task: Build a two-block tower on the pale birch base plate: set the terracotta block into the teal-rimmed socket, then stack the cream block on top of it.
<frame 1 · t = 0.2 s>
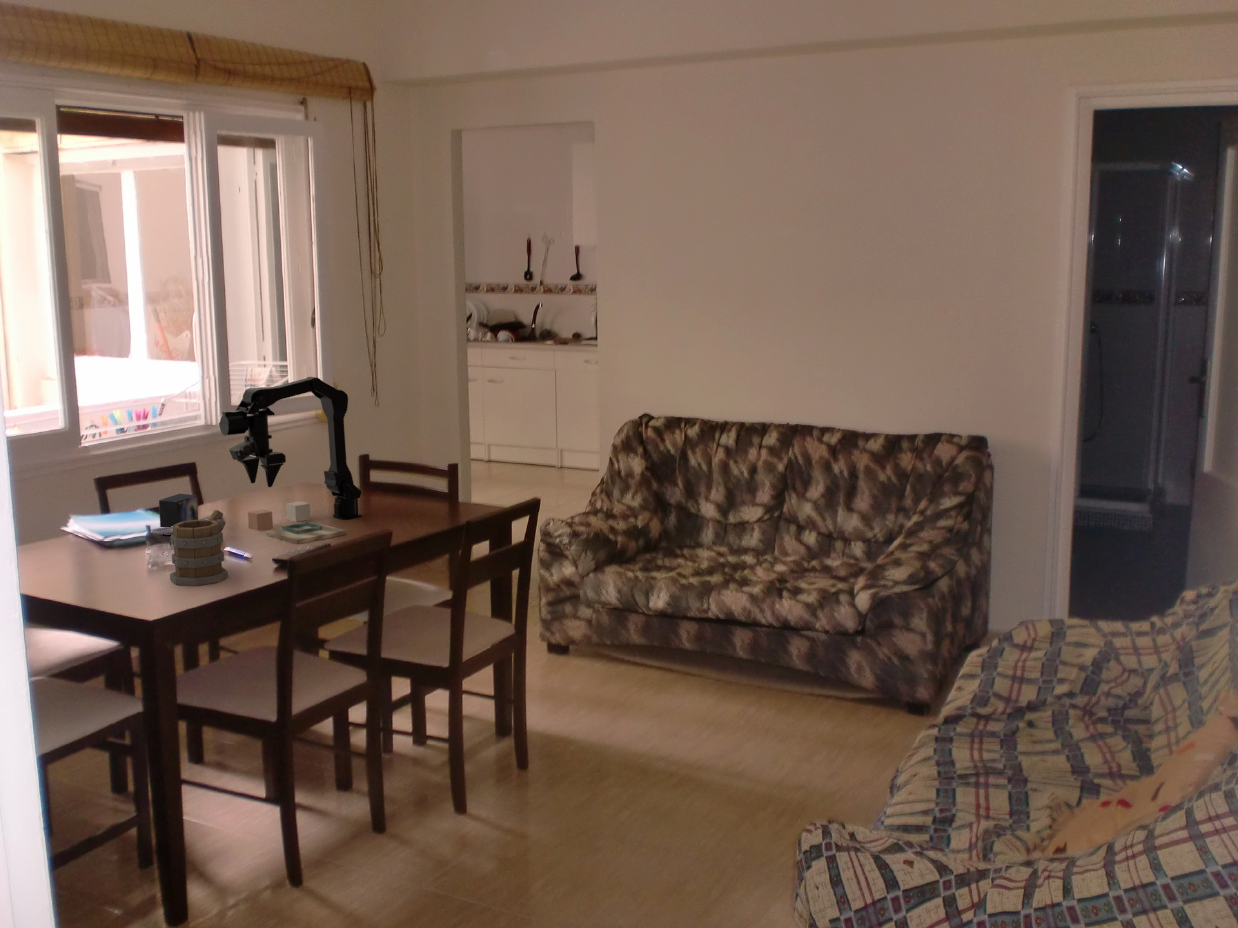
hand: (261, 484, 335), 14 cm above the table, tool pointing down, fingers open, 9 cm apart
cream block: (298, 519, 353), on the table
tankard: (207, 575, 289), on the table
base plate: (306, 534, 332), on the table
terracotta block: (260, 528, 342), on the table
small box: (180, 533, 336), on the table
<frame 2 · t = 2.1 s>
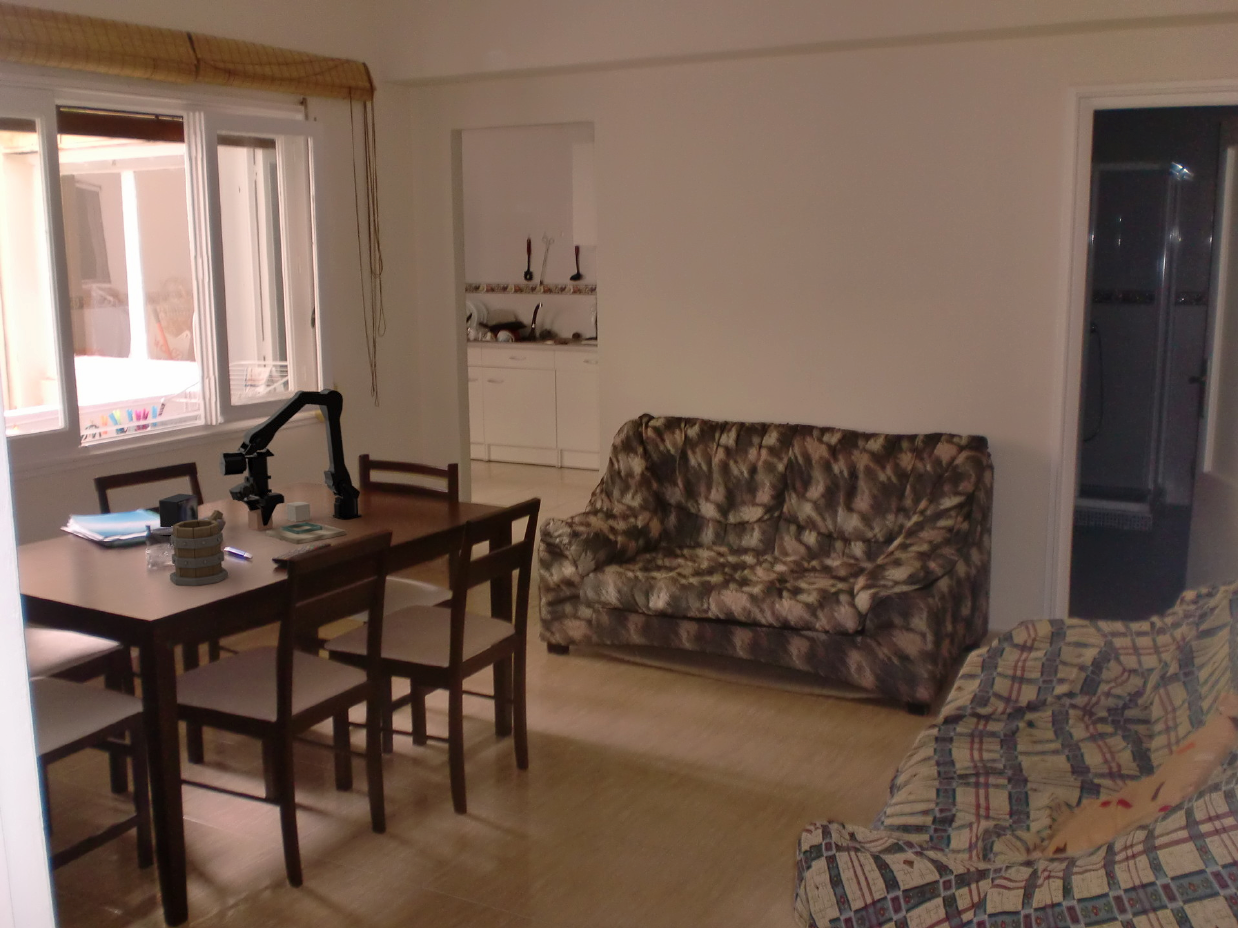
hand: (260, 524, 341), 1 cm above the table, tool pointing down, fingers closed on terracotta block, 5 cm apart
terracotta block: (260, 527, 341), on the table, touching gripper
everything else where it was.
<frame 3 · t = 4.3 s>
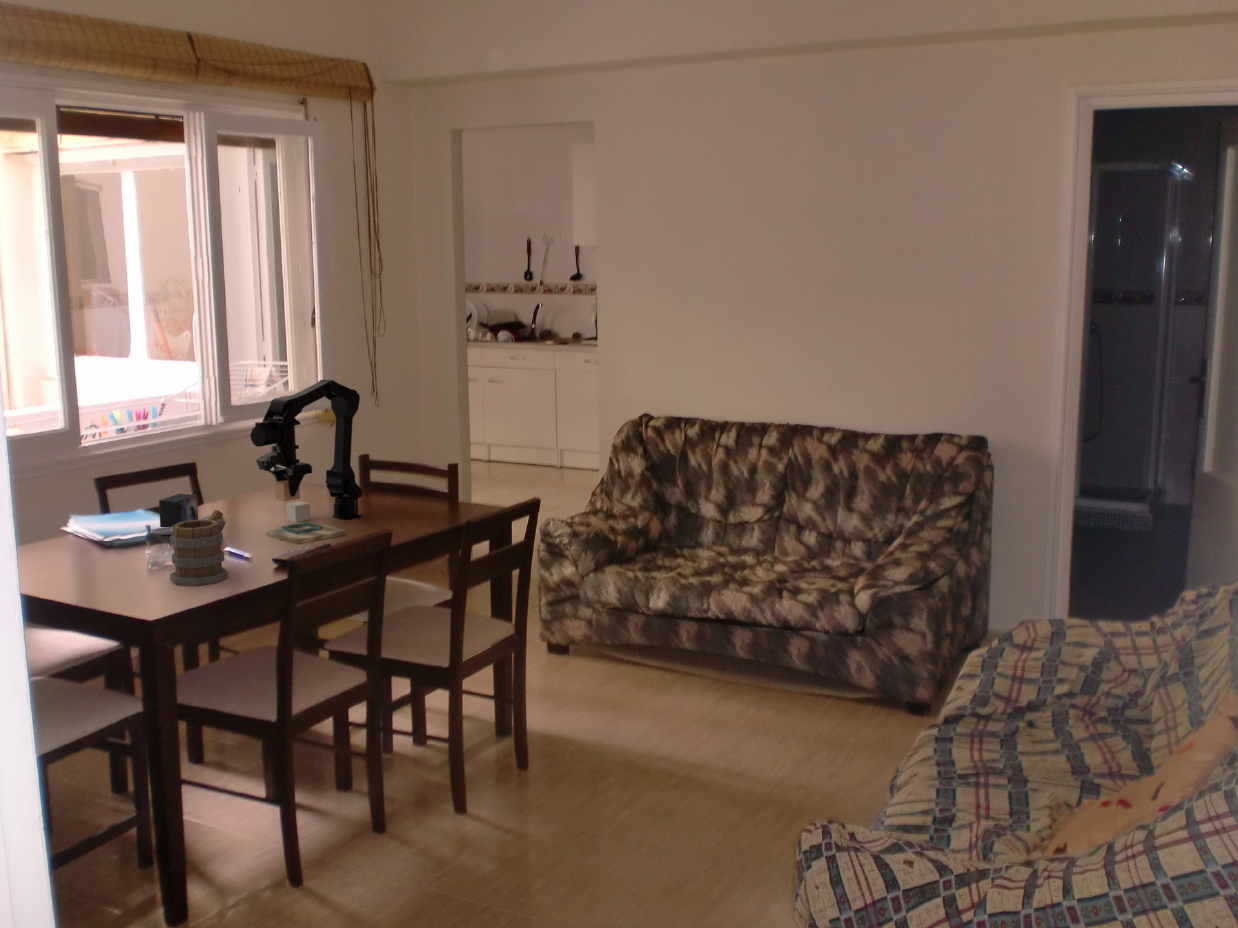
hand: (288, 495, 334), 11 cm above the table, tool pointing down, fingers closed on terracotta block, 5 cm apart
terracotta block: (287, 498, 334), point 10 cm above the table, touching gripper
everything else where it was.
when the fingers open (3 cm above the table, at t = 6.5 s): terracotta block stays where it is, resting on base plate.
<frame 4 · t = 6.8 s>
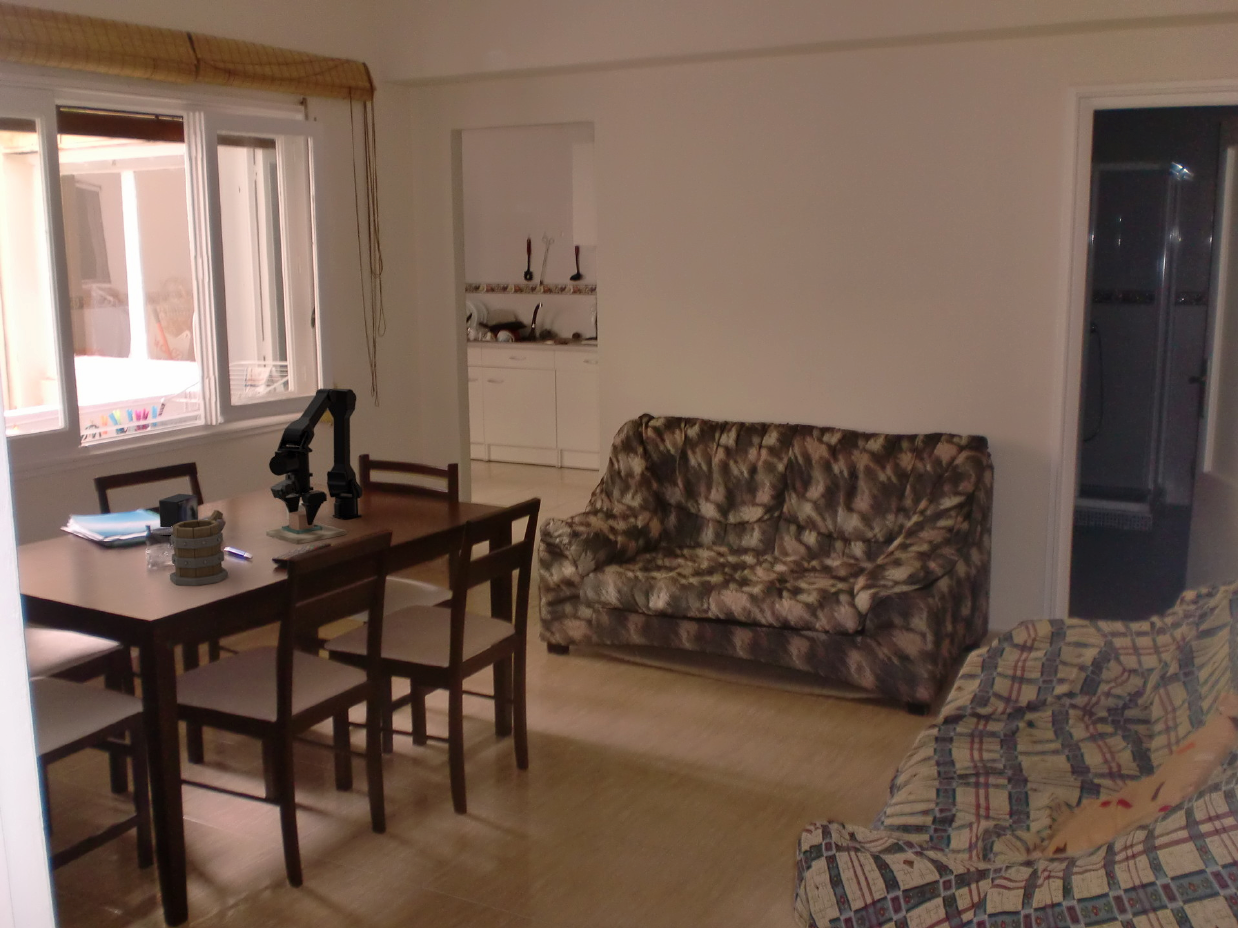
hand: (301, 522, 333), 3 cm above the table, tool pointing down, fingers open, 8 cm apart
terracotta block: (301, 529, 333), point 1 cm above the table, touching base plate
everything else where it was.
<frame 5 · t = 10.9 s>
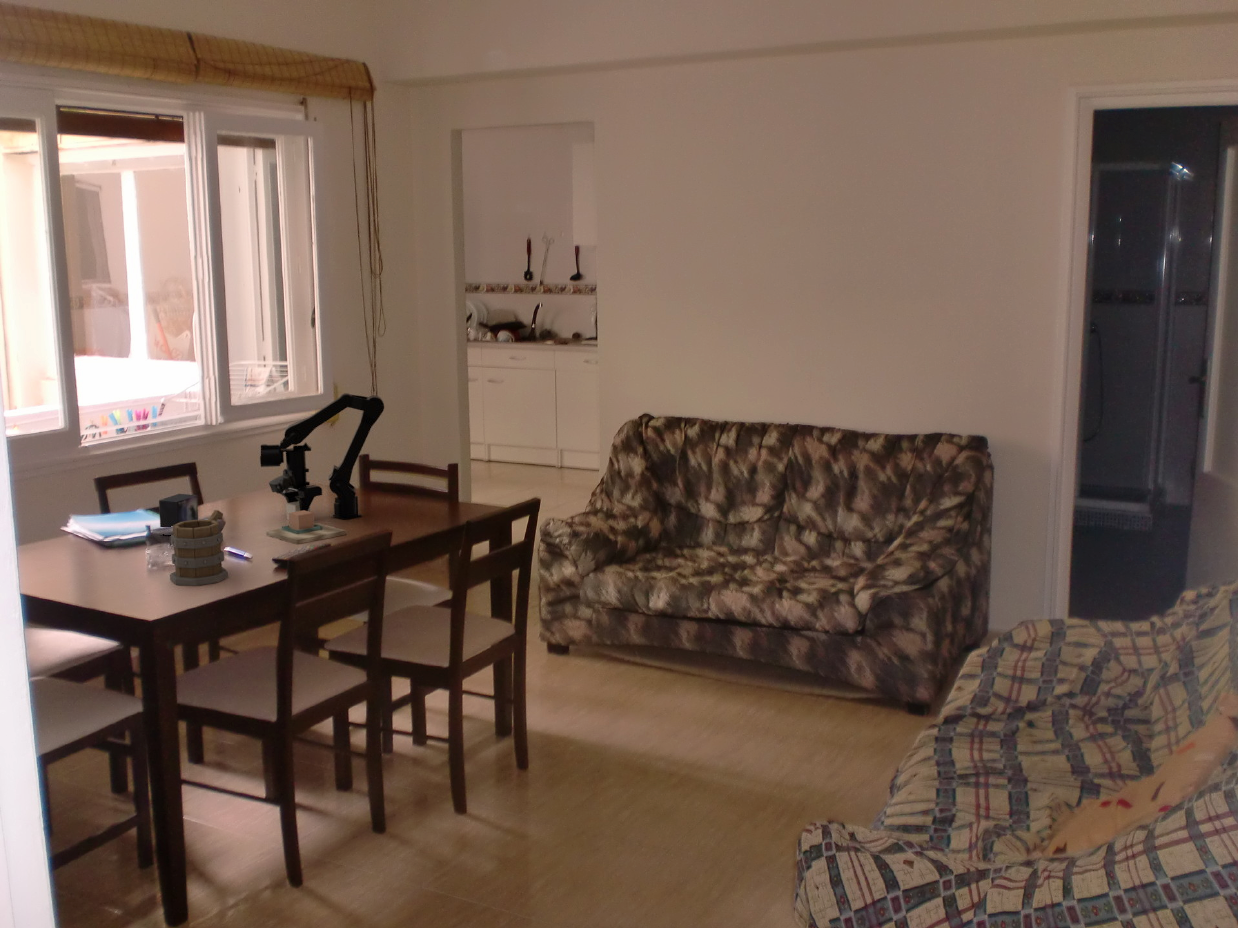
hand: (298, 515, 353), 1 cm above the table, tool pointing down, fingers closed on cream block, 5 cm apart
cream block: (298, 519, 353), on the table, touching gripper
everything else where it was.
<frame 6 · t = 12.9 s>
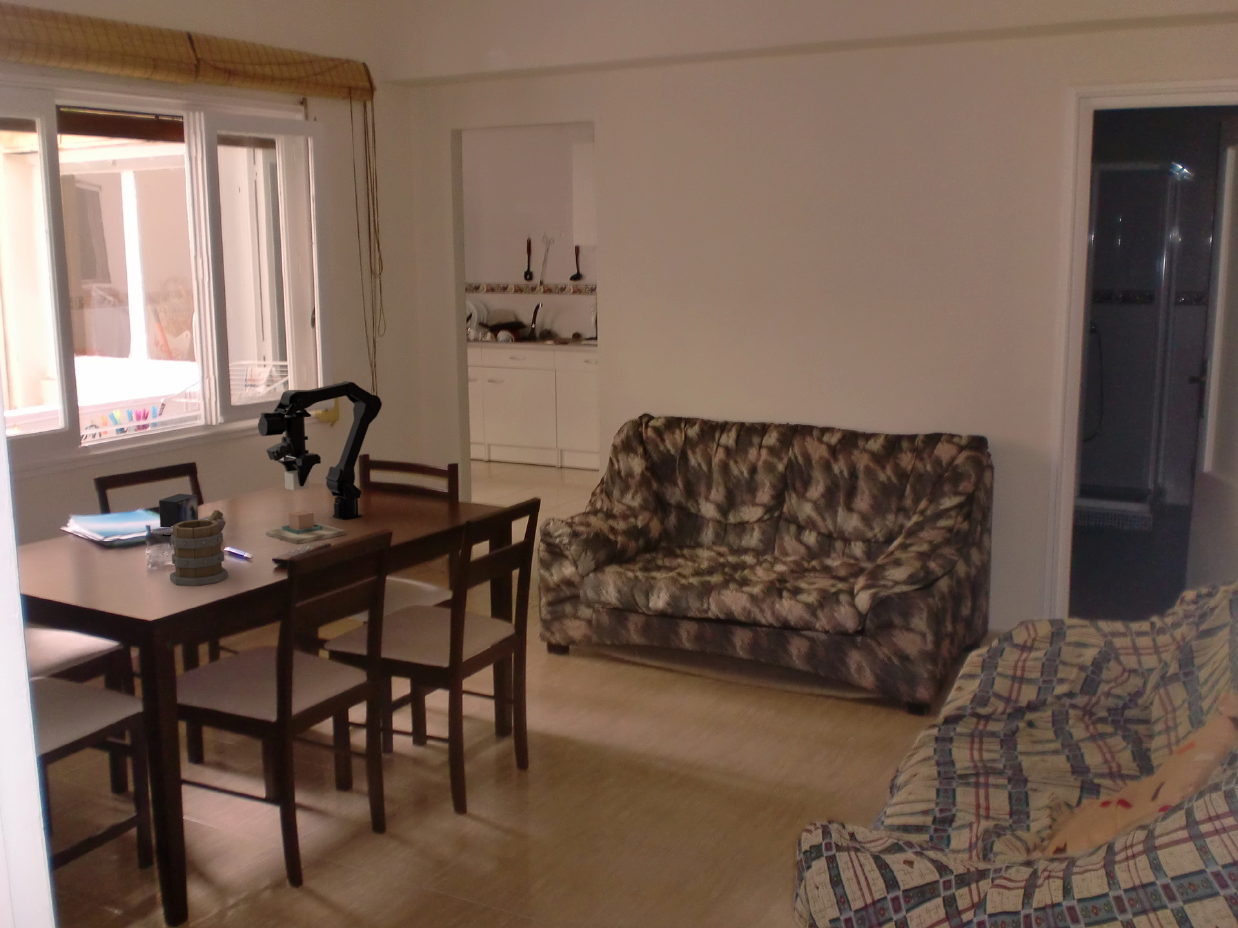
hand: (297, 485, 343), 12 cm above the table, tool pointing down, fingers closed on cream block, 5 cm apart
cream block: (297, 488, 343), point 11 cm above the table, touching gripper
everything else where it was.
when the fingers open (8 cm above the table, at t = 14.9 s): cream block stays where it is, resting on terracotta block.
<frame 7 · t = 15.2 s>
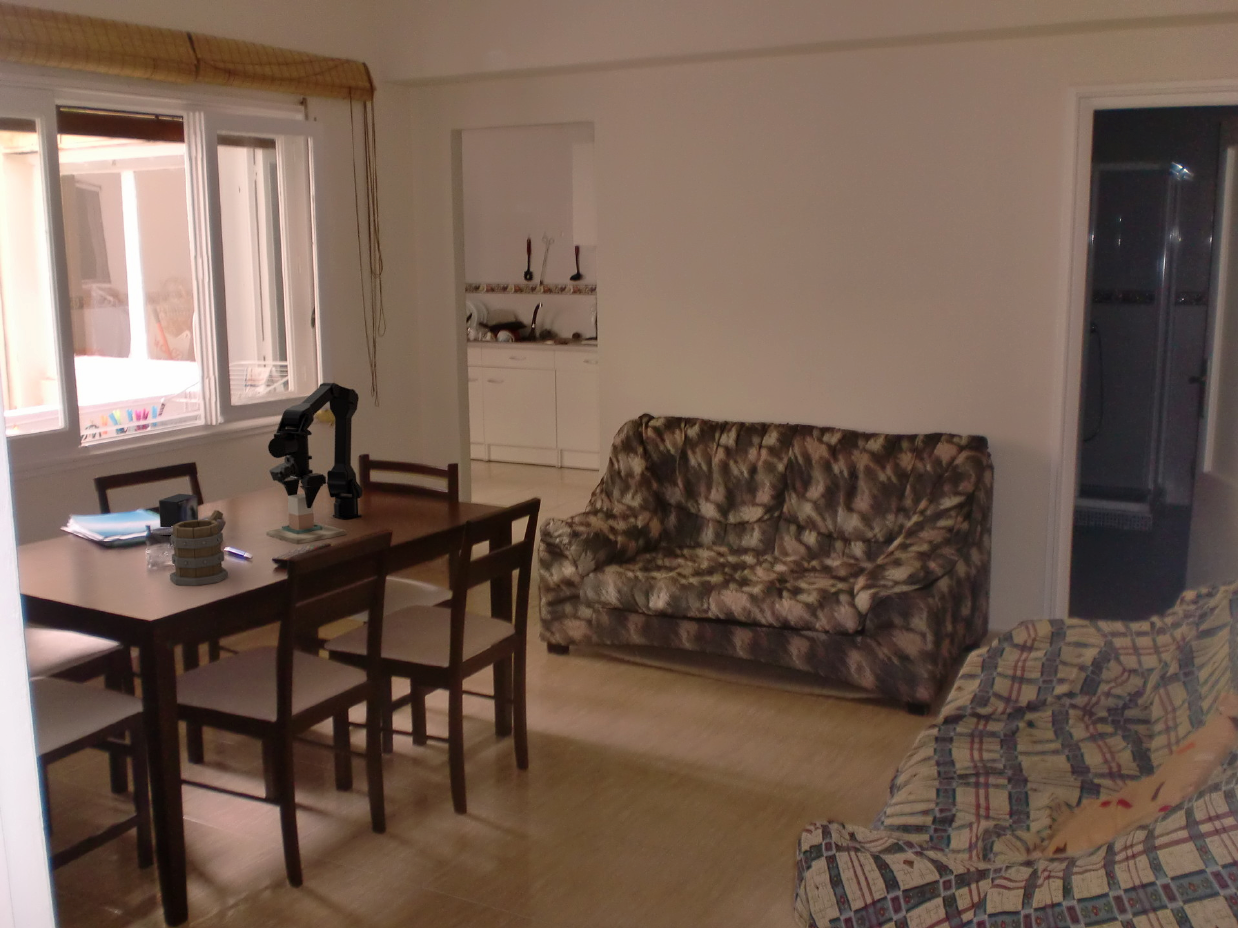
hand: (301, 506, 332), 8 cm above the table, tool pointing down, fingers open, 8 cm apart
cream block: (301, 512, 333), point 6 cm above the table, touching terracotta block
terracotta block: (301, 529, 333), point 1 cm above the table, touching base plate, cream block
everything else where it was.
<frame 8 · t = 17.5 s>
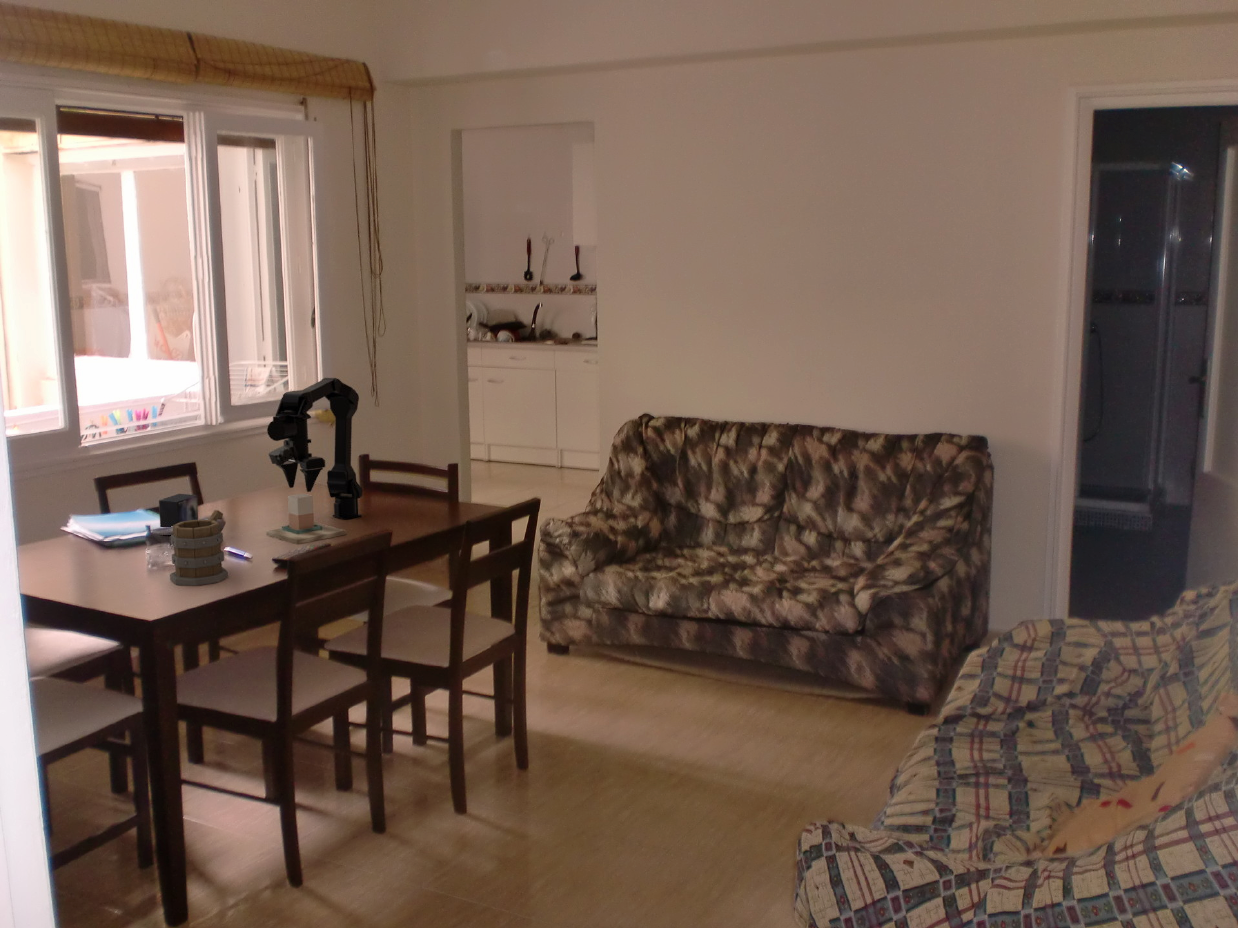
hand: (300, 489, 331), 13 cm above the table, tool pointing down, fingers open, 9 cm apart
nothing on the table moved.
at the end: terracotta block 0.1 cm from the target spot on the base plate, point 1.2 cm above the base plate's base; cream block 0.0 cm off-centre on the terracotta block, point 5.0 cm above the terracotta block's base; cream block tilted 0° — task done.
